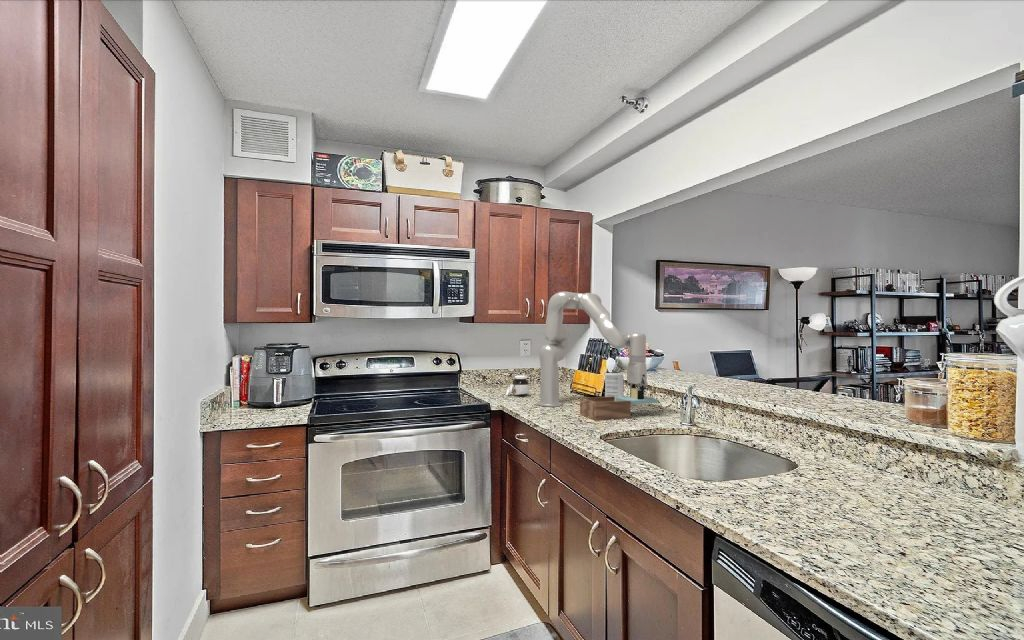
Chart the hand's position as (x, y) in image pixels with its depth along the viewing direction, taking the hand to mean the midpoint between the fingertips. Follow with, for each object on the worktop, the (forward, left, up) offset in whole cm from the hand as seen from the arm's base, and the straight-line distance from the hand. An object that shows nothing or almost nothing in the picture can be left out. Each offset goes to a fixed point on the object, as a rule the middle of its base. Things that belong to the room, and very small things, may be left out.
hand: (637, 397), depth 224 cm
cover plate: (0, 0, -2) cm, 2 cm away
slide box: (0, -17, -8) cm, 19 cm away
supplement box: (-22, +2, -8) cm, 24 cm away
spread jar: (-70, -33, -8) cm, 78 cm away
